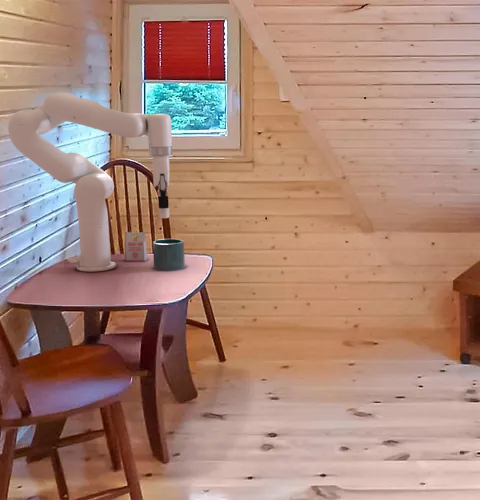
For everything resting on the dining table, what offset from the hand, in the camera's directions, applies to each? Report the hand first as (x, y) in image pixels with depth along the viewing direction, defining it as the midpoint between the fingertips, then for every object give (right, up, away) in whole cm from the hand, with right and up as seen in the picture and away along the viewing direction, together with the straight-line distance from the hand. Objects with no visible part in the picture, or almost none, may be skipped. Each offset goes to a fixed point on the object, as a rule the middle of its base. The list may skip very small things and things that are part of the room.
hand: (163, 206), depth 255 cm
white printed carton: (-14, -18, +17) cm, 28 cm away
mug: (0, -20, +7) cm, 21 cm away
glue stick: (0, -4, +1) cm, 4 cm away
